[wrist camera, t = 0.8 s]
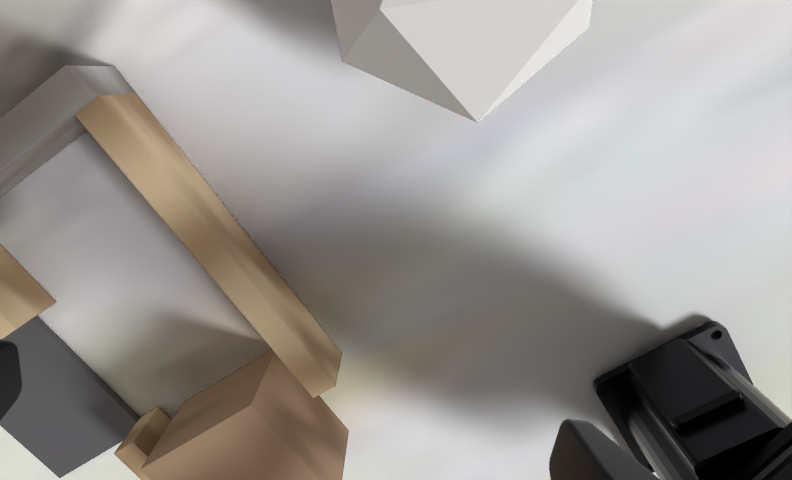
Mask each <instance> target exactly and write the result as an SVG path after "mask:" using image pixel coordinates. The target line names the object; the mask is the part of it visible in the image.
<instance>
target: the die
mask: <svg viewBox="0 0 792 480" xmlns="http://www.w3.org/2000/svg"><path fill="white" fill-rule="evenodd" d="M330 1H331V6H332V11H333V16H334V21H335V26H336V31H337V37H338V42H339V47H340V52H341V57H342V62H345V63H347V64H349V65H351V66H354V67H356V68H358V69H360V70H362V71H365V72H367V73H369V74H371V75H373V76H376V77H378V78H380V79H382V80H384V81H387V82H389V83H391V84H393V85H395V86H398V87H400V88H402V89H404V90H407V91H409V92H411V93H413V94H415V95H418V96H420V97H422V98H424V99H426V100H429V101H431V102H433V103H435V104H437V105H440V106H442V107H444V108H446V109H449V110H451V111H453V112H455V113H457V114H460V115H462V116H464V117H466V118H468V119H471V120H473V121H475V122H477V123H478V122H479V121H480V120H481V119H482V118H484V117H485V116H486V115H487V114H488V113H489V112H491V111H492V110H493V109H494V108H495V107H496V106H498V105H499V104H500V103H501V102H502V101H503V100H505V99H506V98H507V97H508V96H509V95H510V94H512V93H513V92H514V91H515V90H516V89H517V88H519V87H520V86H521V85H522V84H523V83H524V82H526V81H527V80H528V79H529V78H530V77H531V76H533V75H534V74H535V73H536V72H537V71H538V70H540V69H541V68H542V67H543V66H544V65H545V64H547V63H548V62H549V61H550V60H551V59H552V58H554V57H555V56H556V55H557V54H558V53H559V52H561V51H562V50H563V49H564V48H565V47H566V46H568V45H569V44H570V43H571V42H572V41H573V40H574V39H576V38H577V37H578V36H579V35H580V34H581V33H583V32H584V31H585V30H586V29H587V28H588V27H589V22H590V16H591V10H592V3H593V0H330Z"/></svg>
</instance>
